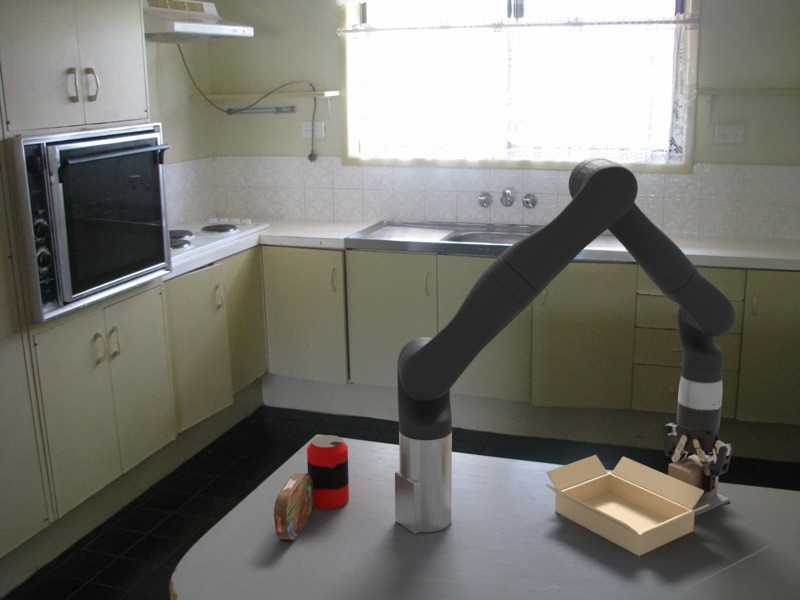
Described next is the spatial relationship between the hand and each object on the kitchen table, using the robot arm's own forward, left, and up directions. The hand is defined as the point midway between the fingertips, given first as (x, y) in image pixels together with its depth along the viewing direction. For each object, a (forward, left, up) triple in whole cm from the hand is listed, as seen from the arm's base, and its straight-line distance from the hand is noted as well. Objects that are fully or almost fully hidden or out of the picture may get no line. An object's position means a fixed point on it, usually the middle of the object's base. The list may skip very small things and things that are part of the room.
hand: (693, 485), depth 161 cm
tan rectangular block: (0, 0, -2) cm, 2 cm away
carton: (-17, +2, -3) cm, 17 cm away
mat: (0, 0, -3) cm, 3 cm away
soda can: (-55, +40, -3) cm, 68 cm away
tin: (-65, +35, -3) cm, 74 cm away
